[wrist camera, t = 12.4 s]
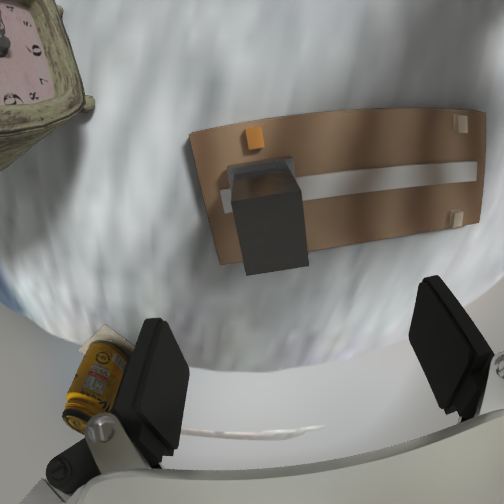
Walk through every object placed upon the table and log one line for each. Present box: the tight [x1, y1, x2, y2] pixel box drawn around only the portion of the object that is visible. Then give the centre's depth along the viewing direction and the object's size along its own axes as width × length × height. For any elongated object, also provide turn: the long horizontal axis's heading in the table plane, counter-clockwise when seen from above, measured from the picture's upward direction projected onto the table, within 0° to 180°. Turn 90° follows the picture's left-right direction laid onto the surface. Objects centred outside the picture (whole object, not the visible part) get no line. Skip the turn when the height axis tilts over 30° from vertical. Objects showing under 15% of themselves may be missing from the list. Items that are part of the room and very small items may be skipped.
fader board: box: [189, 108, 486, 265], centre depth 25 cm, size 28×12×2 cm, turn 100°
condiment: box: [62, 325, 135, 435], centre depth 31 cm, size 7×8×12 cm
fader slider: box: [226, 156, 309, 276], centre depth 21 cm, size 5×6×7 cm
